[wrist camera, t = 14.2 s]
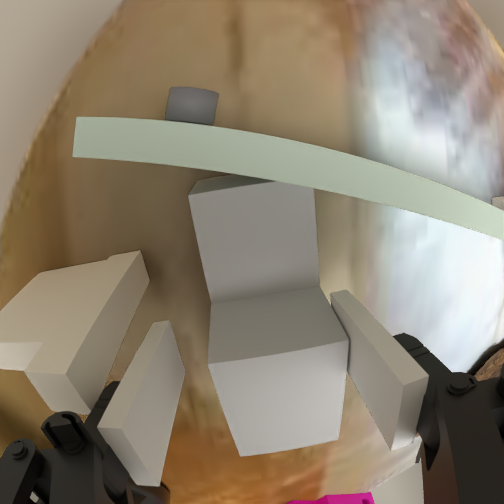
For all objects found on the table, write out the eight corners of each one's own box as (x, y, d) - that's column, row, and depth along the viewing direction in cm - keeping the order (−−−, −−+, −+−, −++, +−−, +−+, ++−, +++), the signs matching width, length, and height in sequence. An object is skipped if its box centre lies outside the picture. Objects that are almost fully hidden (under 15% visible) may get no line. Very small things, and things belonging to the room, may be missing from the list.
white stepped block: (234, 357, 20) (240, 456, 13) (197, 180, 15) (169, 224, 8) (306, 345, 20) (338, 439, 13) (292, 166, 15) (349, 197, 8)
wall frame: (49, 295, 17) (-28, 395, 8) (38, 269, 16) (-50, 362, 7) (536, 213, 18) (612, 254, 8) (538, 192, 17) (618, 229, 8)
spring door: (137, 146, 14) (72, 160, 7) (145, 97, 13) (83, 74, 6) (488, 224, 17) (554, 262, 11) (497, 191, 16) (567, 221, 10)
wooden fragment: (558, 270, 20) (564, 275, 19) (551, 318, 25) (555, 322, 24) (401, 422, 25) (404, 429, 24) (420, 439, 30) (423, 445, 29)
